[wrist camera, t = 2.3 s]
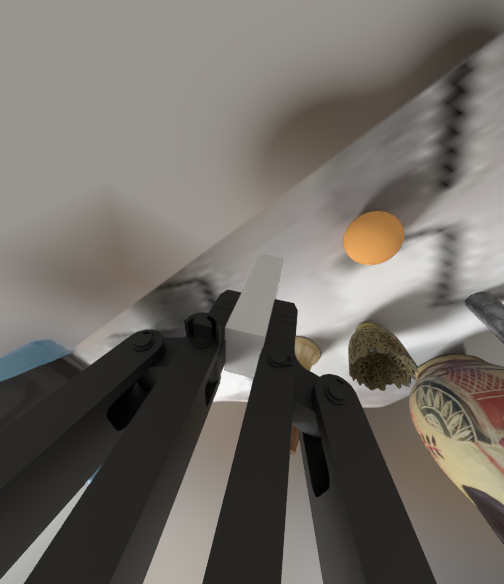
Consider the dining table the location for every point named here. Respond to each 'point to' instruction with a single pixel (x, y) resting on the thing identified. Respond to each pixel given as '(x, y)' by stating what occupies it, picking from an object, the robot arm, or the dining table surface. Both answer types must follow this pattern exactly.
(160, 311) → the dining table surface
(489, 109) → the dining table surface
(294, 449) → the hand bell
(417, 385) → the ceramic jug
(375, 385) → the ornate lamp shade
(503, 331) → the gate post
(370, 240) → the ball
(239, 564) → the robot arm
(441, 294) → the dining table surface
